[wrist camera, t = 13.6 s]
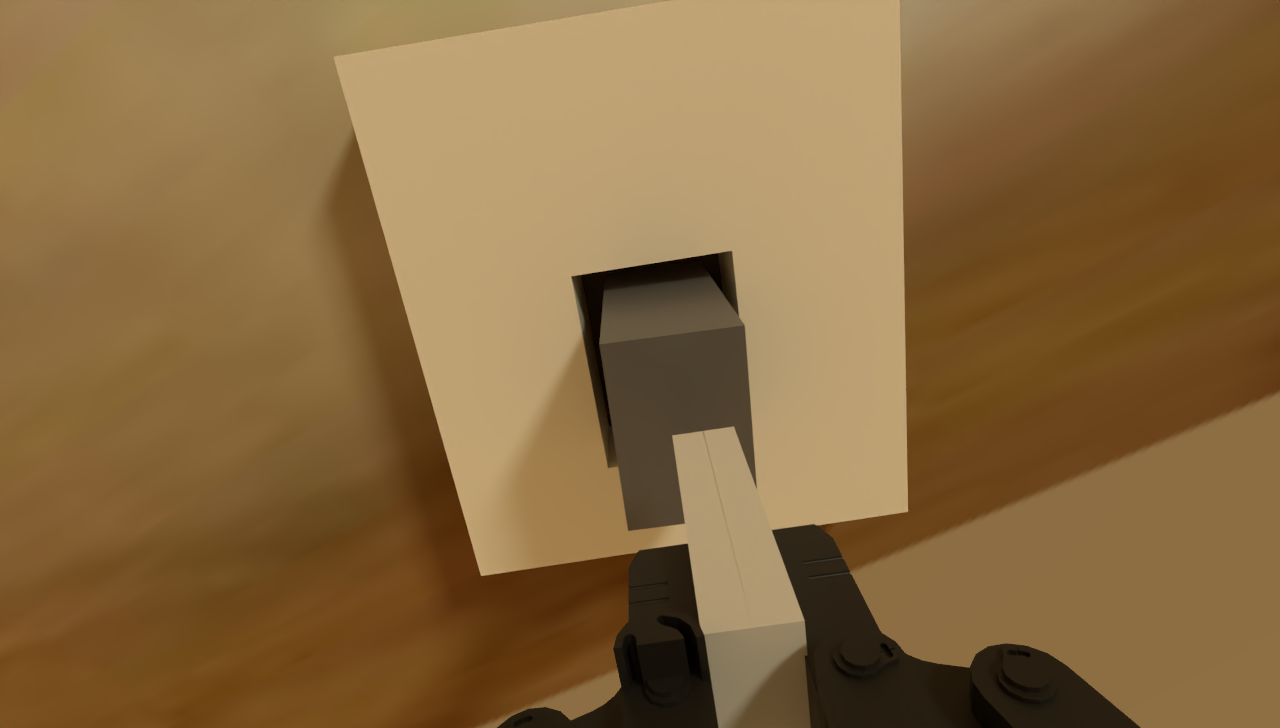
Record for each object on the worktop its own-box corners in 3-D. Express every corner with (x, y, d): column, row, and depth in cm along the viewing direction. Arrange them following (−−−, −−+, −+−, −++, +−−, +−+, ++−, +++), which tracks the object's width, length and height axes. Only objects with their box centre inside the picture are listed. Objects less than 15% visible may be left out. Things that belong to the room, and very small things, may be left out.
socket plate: (854, -10, 24) (898, -38, 20) (871, 465, 30) (908, 511, 27) (377, 70, 24) (333, 56, 20) (497, 522, 31) (480, 575, 27)
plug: (699, 260, 27) (744, 325, 17) (712, 392, 29) (758, 514, 19) (605, 272, 27) (599, 344, 17) (624, 403, 29) (627, 531, 19)
